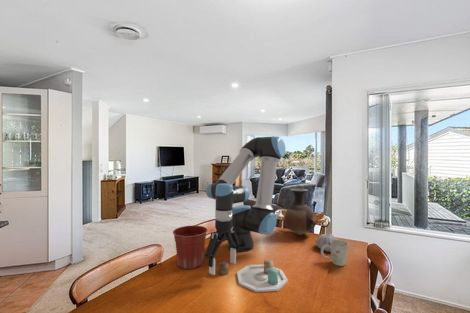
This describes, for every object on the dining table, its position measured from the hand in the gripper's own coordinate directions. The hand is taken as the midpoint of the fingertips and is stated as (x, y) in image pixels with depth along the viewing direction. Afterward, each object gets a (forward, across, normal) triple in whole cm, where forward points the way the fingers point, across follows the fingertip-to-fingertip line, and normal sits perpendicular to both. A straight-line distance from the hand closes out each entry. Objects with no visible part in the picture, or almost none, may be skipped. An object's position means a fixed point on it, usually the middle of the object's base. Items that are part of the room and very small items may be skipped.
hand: (223, 268), depth 102 cm
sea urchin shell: (+2, +60, -26) cm, 65 cm away
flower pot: (+4, -1, +20) cm, 20 cm away
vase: (+2, +71, -4) cm, 71 cm away
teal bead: (+2, +7, -21) cm, 22 cm away
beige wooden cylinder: (+2, +13, -15) cm, 20 cm away
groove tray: (+3, +8, -15) cm, 17 cm away
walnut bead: (+3, +1, 0) cm, 3 cm away
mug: (+2, +44, -34) cm, 55 cm away
